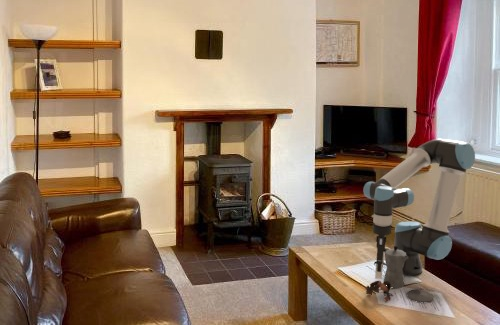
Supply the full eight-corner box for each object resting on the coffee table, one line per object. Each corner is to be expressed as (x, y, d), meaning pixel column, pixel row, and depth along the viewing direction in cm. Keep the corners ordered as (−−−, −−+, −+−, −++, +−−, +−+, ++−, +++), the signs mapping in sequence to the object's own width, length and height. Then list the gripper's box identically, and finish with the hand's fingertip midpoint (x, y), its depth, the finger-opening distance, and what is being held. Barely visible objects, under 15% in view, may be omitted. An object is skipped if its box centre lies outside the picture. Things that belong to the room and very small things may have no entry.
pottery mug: (383, 306, 223) (374, 288, 223) (368, 308, 230) (359, 290, 231) (400, 291, 230) (391, 274, 230) (384, 293, 237) (375, 276, 238)
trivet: (406, 290, 237) (406, 288, 237) (433, 293, 234) (433, 290, 234) (406, 300, 227) (407, 298, 226) (434, 304, 224) (434, 301, 223)
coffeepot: (412, 286, 241) (414, 247, 237) (399, 292, 235) (401, 252, 232) (384, 275, 253) (386, 238, 249) (371, 280, 247) (372, 243, 243)
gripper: (374, 215, 238) (371, 261, 242) (371, 231, 214) (368, 282, 218) (392, 216, 236) (389, 263, 240) (390, 233, 212) (387, 284, 216)
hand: (379, 272), depth 229 cm, fingers open, 13 cm apart
